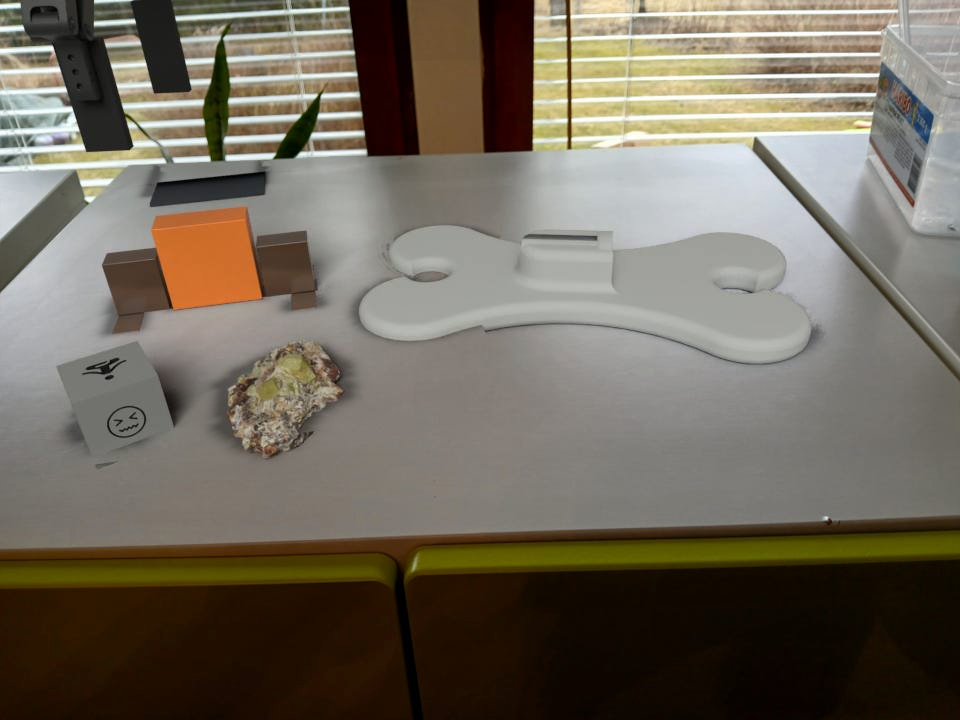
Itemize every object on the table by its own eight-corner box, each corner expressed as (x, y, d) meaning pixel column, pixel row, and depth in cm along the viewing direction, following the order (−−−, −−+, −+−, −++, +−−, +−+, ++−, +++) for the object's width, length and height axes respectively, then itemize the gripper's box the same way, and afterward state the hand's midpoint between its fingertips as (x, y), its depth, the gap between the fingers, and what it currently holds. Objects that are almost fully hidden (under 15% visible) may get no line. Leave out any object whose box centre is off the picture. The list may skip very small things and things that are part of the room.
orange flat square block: (177, 294, 66) (155, 215, 62) (263, 283, 67) (247, 205, 63) (173, 310, 64) (150, 229, 60) (262, 299, 65) (245, 219, 61)
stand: (129, 297, 68) (110, 238, 65) (317, 274, 70) (308, 216, 67) (112, 345, 61) (91, 282, 58) (321, 318, 64) (310, 256, 61)
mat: (163, 169, 95) (163, 166, 95) (266, 159, 97) (265, 156, 96) (150, 206, 85) (149, 203, 85) (264, 194, 87) (263, 191, 87)
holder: (402, 240, 75) (397, 191, 73) (773, 251, 71) (783, 198, 68) (347, 348, 60) (338, 289, 57) (819, 371, 55) (835, 308, 52)
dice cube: (157, 402, 55) (137, 340, 52) (177, 439, 51) (157, 375, 48) (80, 428, 53) (55, 366, 50) (96, 469, 49) (71, 404, 46)
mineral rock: (236, 338, 57) (338, 313, 55) (264, 385, 59) (362, 362, 57) (181, 437, 48) (299, 411, 46) (215, 487, 50) (329, 464, 49)
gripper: (4, -307, 33) (141, 179, 45) (175, -251, 54) (238, 71, 66) (-176, -300, 33) (8, 185, 45) (64, -246, 54) (147, 75, 66)
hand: (144, 118), depth 55 cm, fingers open, 13 cm apart
